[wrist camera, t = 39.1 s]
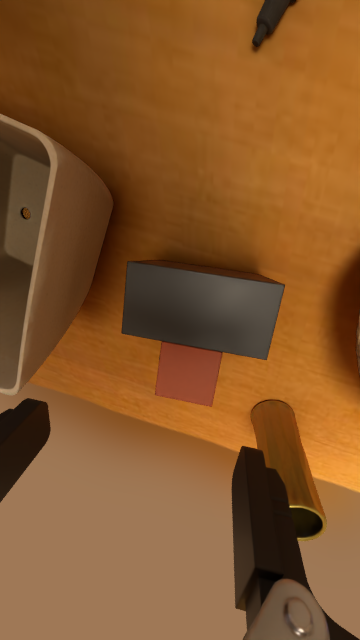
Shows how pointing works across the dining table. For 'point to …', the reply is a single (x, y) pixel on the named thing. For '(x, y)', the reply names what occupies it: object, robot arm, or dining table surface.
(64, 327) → the flower pot
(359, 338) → the ceramic bowl
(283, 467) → the vase
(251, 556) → the robot arm
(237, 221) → the dining table surface
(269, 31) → the micrometer
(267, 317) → the dark grey box
